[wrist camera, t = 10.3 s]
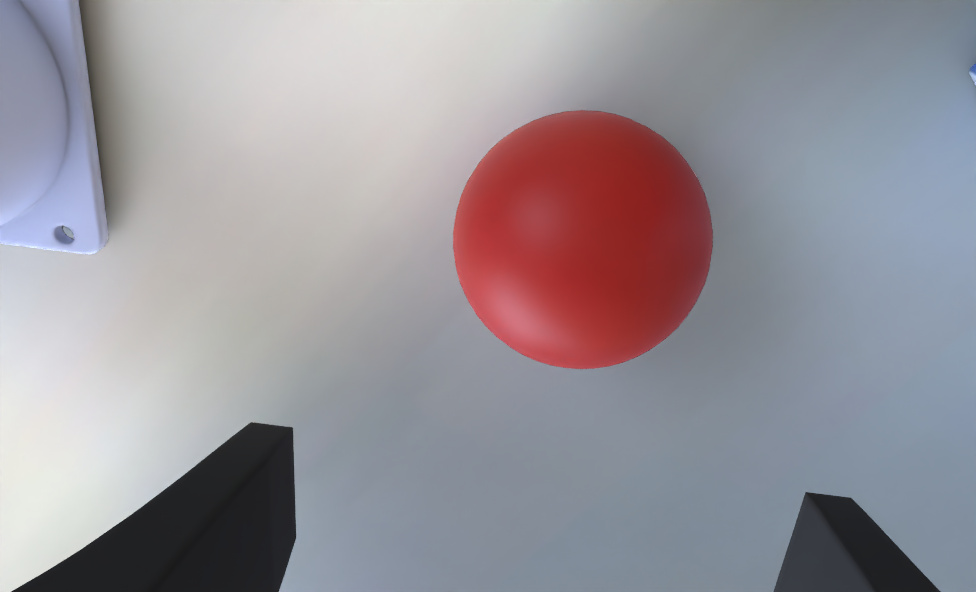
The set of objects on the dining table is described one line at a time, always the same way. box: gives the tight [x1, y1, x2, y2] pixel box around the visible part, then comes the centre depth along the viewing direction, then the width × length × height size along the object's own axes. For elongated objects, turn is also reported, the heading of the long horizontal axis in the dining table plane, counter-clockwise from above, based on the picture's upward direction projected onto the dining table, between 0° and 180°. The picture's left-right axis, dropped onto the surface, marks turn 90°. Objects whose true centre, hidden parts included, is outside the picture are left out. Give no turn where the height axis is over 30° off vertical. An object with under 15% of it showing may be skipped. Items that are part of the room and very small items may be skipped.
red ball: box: [453, 110, 713, 369], centre depth 18 cm, size 5×5×6 cm
